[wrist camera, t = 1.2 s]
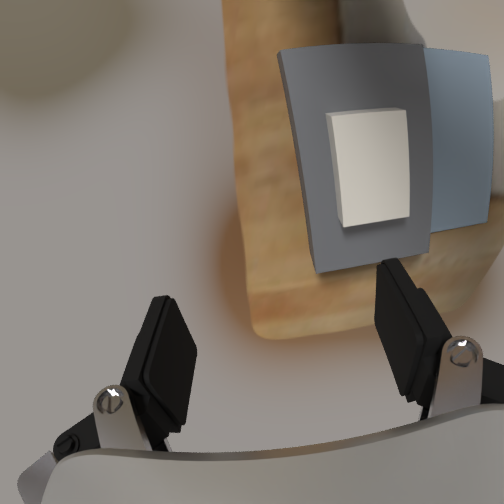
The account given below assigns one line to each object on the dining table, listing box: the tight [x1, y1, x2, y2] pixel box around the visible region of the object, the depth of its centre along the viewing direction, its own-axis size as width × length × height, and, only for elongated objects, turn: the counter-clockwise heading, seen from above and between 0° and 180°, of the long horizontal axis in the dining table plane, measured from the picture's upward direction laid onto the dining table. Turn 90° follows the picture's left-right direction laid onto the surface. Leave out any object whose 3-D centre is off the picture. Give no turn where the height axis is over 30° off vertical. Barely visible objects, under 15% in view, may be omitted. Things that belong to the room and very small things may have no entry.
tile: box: [325, 107, 410, 227], centre depth 23 cm, size 9×6×2 cm, turn 12°
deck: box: [277, 43, 433, 274], centre depth 26 cm, size 20×12×4 cm, turn 11°
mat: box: [423, 48, 494, 233], centre depth 26 cm, size 20×11×1 cm, turn 11°
